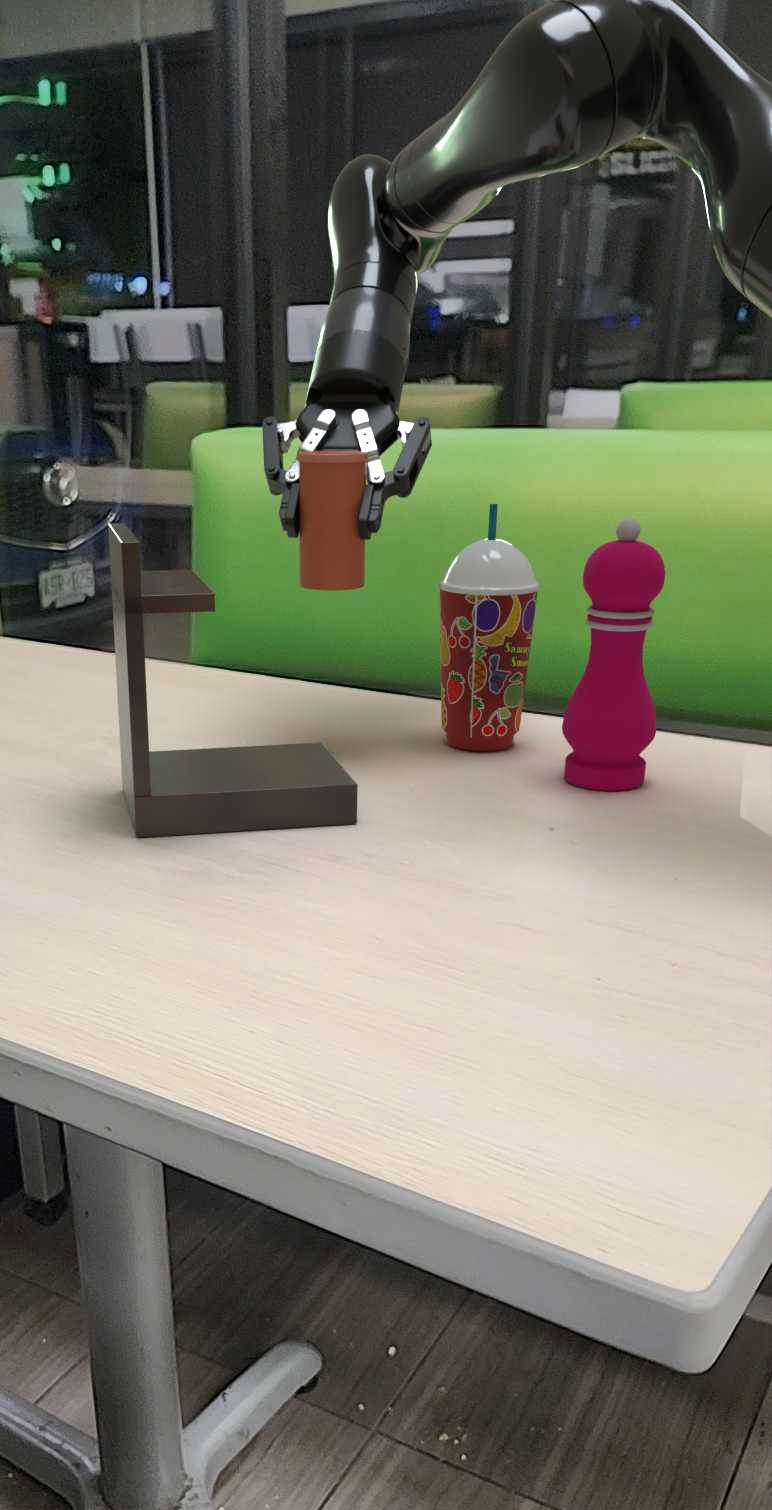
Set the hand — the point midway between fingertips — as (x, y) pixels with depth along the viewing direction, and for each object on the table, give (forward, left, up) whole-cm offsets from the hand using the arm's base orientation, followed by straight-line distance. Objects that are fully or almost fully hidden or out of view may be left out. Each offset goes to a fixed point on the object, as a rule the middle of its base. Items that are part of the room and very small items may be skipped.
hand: (327, 531), depth 103 cm
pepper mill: (-21, +9, -19) cm, 29 cm away
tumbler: (-1, -2, -4) cm, 5 cm away
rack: (+9, +10, -19) cm, 23 cm away
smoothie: (-15, -4, -19) cm, 24 cm away
